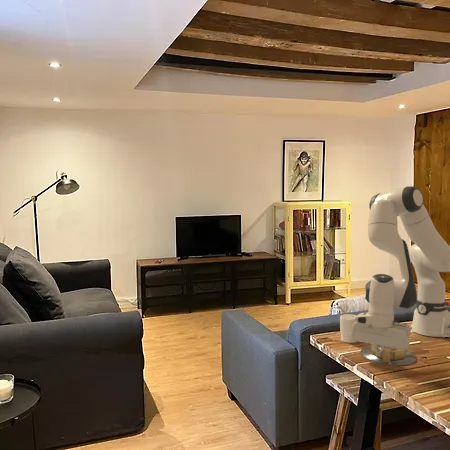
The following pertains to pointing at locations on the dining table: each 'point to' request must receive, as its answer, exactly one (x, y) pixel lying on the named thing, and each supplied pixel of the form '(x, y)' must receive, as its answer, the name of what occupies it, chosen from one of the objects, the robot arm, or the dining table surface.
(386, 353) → the ring nut
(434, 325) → the robot arm
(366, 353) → the hub plate
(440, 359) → the dining table surface
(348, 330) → the white cup
